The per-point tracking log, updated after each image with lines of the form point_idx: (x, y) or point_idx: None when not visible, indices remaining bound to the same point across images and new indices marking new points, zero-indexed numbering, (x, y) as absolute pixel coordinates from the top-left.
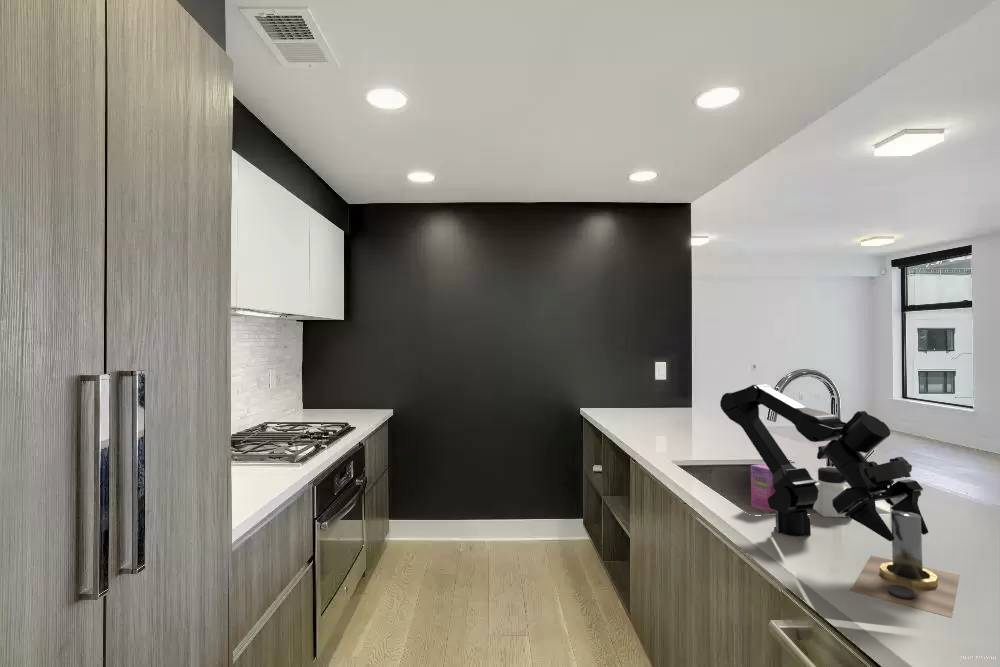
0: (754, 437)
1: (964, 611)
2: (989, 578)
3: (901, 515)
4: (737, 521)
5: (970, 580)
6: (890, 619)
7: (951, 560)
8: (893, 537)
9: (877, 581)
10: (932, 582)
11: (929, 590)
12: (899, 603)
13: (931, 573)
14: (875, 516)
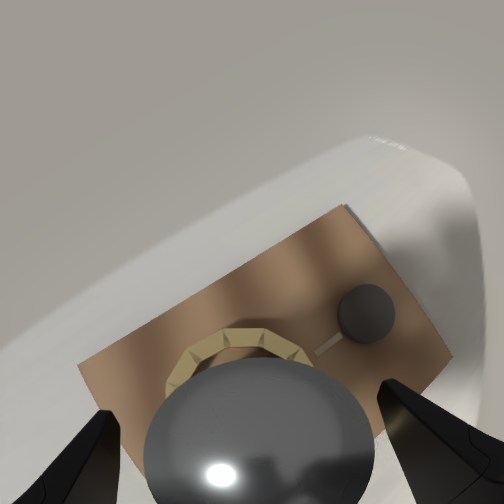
0: None
1: (261, 235)
2: (22, 338)
3: (330, 452)
4: None
5: (65, 350)
6: (437, 252)
7: (8, 435)
8: (391, 380)
9: (357, 398)
10: (236, 329)
11: (263, 320)
12: (400, 279)
13: (180, 372)
14: (493, 439)
